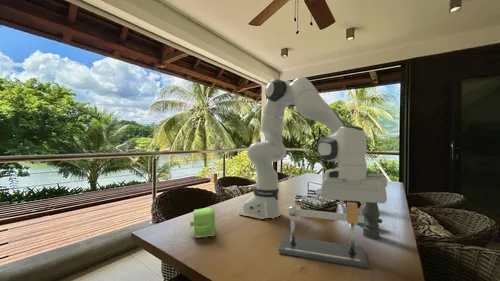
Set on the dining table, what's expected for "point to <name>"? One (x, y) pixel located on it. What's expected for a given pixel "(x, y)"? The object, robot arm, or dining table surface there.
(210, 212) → the gearbox
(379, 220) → the clamp
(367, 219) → the candle holder
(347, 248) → the bolt plate
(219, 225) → the dining table surface
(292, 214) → the dividers frame
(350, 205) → the leg
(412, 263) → the dining table surface
